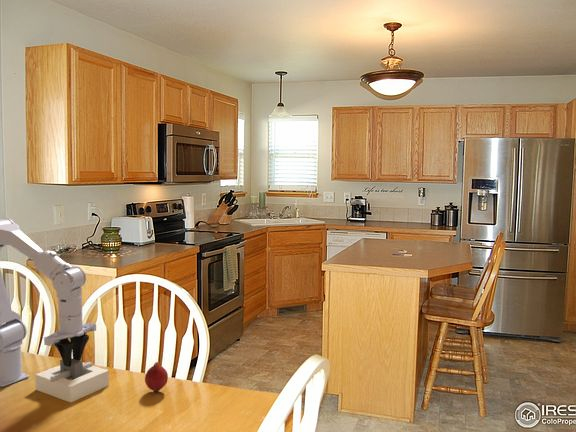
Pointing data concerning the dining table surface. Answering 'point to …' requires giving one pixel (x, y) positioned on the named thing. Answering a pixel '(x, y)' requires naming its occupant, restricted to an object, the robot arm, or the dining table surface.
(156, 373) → the onion
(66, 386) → the shallow white tray
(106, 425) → the dining table surface
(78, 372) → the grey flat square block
